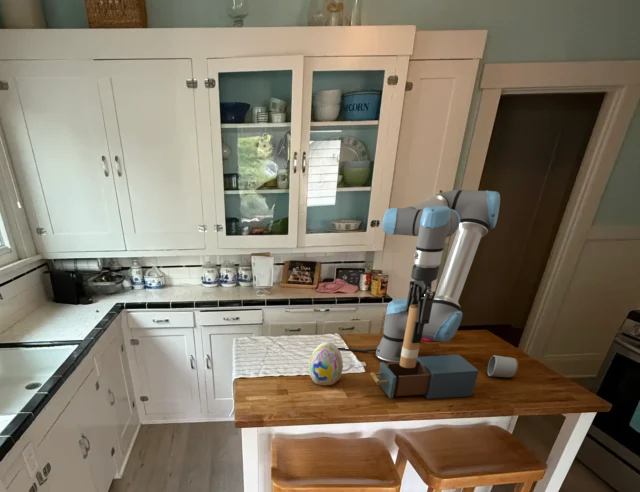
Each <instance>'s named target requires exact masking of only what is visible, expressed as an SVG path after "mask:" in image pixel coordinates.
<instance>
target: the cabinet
mask: <svg viewBox="0 0 640 492" xmlns="http://www.w3.org/2000/svg"><path fill="white" fill-rule="evenodd" d="M417 361H419V362H420V363H421V364H422V365H423V366H424V367H425V368H426V369H427V370H428V371H429V372H430V373H431V374H432V376H431V381H430V385H429V389H428V394H423V396H424V397H425V398H426V399H427V400H434V399H448V398H463V397H465V398H466V397H472V396H473V394H474V393H473V392H474V389H475V385H476V382H477V379H478V375H479V369H477V368H476V367H475V366H474V365H473V364H472V363H470V362H469V361H467V360H466V359H465V358H464V357H462V355H461V354H444V355H443V354H441V355H429V356H427V355H425V356H418V357H417Z"/></svg>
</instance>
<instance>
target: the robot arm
mask: <svg viewBox="0 0 640 492" xmlns="http://www.w3.org/2000/svg"><path fill="white" fill-rule="evenodd" d="M500 206H501V195H500V193H499V192H498V191H495V190H494V191H493V190H487V189H486V190H466V189H465V190H464V189H462V190H461V189H453V190H446V191H443V192H439V193H436V194H433V195H430V196H428V197H427V198H426V199H425V200H424V201H422V202H419V203H416V204H412V205H409V206H406V207H390V208H388V209H386V211H384V215H383V218H382V223H381V224H382V226H381V227H382V231H383V233H384V234H387V235H392V236H396V235H397V236H409V237H417V240H416V247H415V252H414V253H413V258H414V259H413V264H414V265H412V269H411V275H410V278H411V279H412V280H410V281H409V286H408V287H409V289H408V295H407V297H402V298H397V299H393V300H391V301H389V303H387V306H386V312H385V318H384V325H383V331H382V332H383V333H382V338H381V340H380V341H379V344H378V346H377V347H375V348H366V349H360V348H359V349H358V348H351V347H348V348H349V349H345V348H346V347H342V348H338V350H339V351H351V352H356V353H367V352H375V358H376V359H377V360H379V361H380V362H384V363H385V364H386V363H387V364H388V363H398V362H400V359H401V352H402V347H403V342H404V336H405V331H406V325H407V319H408V314H409V308H410V305H415V304H418V313H417V322H415V326H414V332H413V337H412V343H420V344H421V343H422V338H426V339H431V340H434V341H433V342H443V343H448V342H449V341H451V339H453V338H454V336H455V334H456V333H457V331H458V329H459V327H460V325H461V322H462V319H463V315H464V314H463V312H462V311H461V305H460V303H459V301H460V297H461V295H462V292H463V289H464V286H465V283H466V281H467V278H468V275H469V272H470V270H471V267H472V264H473V262H474V258H475V256H476V253H477V250H478V248H479V244H480V242H481V239H482V238H483V237H485V236H487V234H488V233H489V230H491V229H494V228H495V227H496V225H497V223H498V218H499V212H500V208H501V207H500ZM453 234H455V236H454V239H453V242H452V244H451V247H450V250H449V254H448V256H447V259H446V262H445V264H444V268H443V270H442V273H441V276H440V278H439V281H438V284H437V287H436V291H432V283H433V281H436V280H437V279H438V277H439V272H440V265H441V263H442V258H443V252H444V246H445V243H446V238H449V237H451V236H452V235H453Z"/></svg>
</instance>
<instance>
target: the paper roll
mask: <svg viewBox="0 0 640 492" xmlns="http://www.w3.org/2000/svg"><path fill="white" fill-rule="evenodd" d="M417 313H418V304H415V305H410V308H409V314H408V319H407V325H406V331H405V336H404V342H403V347H402V352H401V359H400V366H402V367H404V368H414V367H415V366H416V361H417V357H419V351H420V345H421V343H412V337H413V332H414V326H415V322H417Z"/></svg>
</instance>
